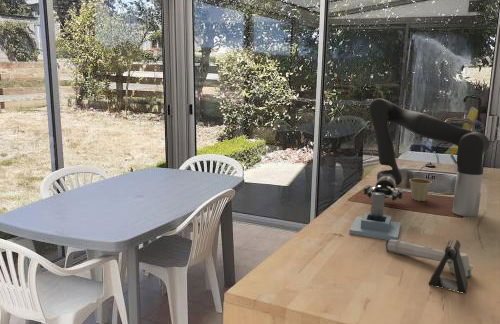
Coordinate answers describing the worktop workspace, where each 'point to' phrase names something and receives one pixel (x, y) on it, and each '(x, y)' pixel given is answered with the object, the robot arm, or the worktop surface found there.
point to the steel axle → (377, 206)
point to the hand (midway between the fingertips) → (381, 196)
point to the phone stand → (458, 267)
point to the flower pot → (419, 189)
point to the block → (375, 227)
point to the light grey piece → (426, 253)
